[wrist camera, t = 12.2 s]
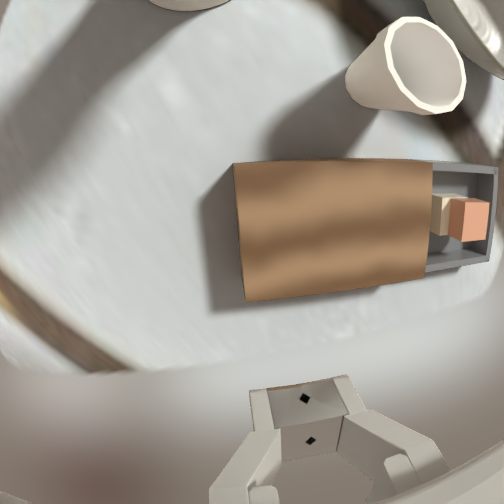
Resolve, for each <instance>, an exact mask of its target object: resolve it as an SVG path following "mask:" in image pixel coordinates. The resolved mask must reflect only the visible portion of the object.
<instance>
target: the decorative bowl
mask: <svg viewBox="0 0 504 504" xmlns="http://www.w3.org/2000/svg"><path fill="white" fill-rule="evenodd" d="M424 2H425V4H426V7H427V10H428V12H429V14H430V16H431V18H432V20H433V21H434V23H435V25H437V26H438V27H439V28H440V29H441V30H442V31H443V32H444V33H445V34H446V35H447V36H448V37H449V38H450V39H451V40H452V41H453V43H454V44H455V46H456V48H457V49H458V50H459V51H461V52H462V53H463V54H464V55H465V56H466V57H467V58H469V59H470V60H471V61H473V62H474V63H475V64H477V65H478V66H479V67H481V68H482V69H484V70H486V71H487V72H489V73H491V74H492V75H494V76H496V77H498V78H500V79H502V80H504V0H424Z"/></svg>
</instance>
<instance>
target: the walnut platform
mask: <svg viewBox="0 0 504 504" xmlns="http://www.w3.org/2000/svg"><path fill="white" fill-rule="evenodd" d="M233 174H234V187H235V199H236V212H237V224H238V236H239V248H240V259H241V271H242V281H243V287H244V294H245V300H246V302H253V301H263V300H272V299H281V298H289V297H298V296H306V295H314V294H322V293H329V292H337V291H344V290H351V289H358V288H365V287H372V286H379V285H385V284H391V283H398V282H404V281H410V280H416V279H422V278H424V277H425V269H426V262H427V253H428V244H429V234H430V222H431V206H432V180H433V163H430V162H423V161H416V160H408V159H381V158H330V159H296V160H276V161H259V162H245V163H233Z"/></svg>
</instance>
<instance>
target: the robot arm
mask: <svg viewBox="0 0 504 504" xmlns="http://www.w3.org/2000/svg"><path fill="white" fill-rule="evenodd" d="M149 1H150V2H152V3H154V4H155V5H158V6H160V7H163V8H166V9H170V10H177V11H194V10H202V9H207V8H211V7H214V6H217V5H220V4H223V3H225V2H227V1H229V0H149ZM249 398H250V406H251V413H252V421H253V429H254V432H249V433H248V435H247V436H246V438H245V439H244V441H243V442H242V444H241V445H240V447H239V448H238V449H237V451H236V452H235V454H234V455H233V457H232V458H231V460H230V461H229V462H228V464H227V465H226V467H225V468H224V470H223V471H222V472H221V474H220V475H219V476H218V478H217V479H216V480H215V482H214V483H213V485H212V486H211V487H210V489H209V504H280V502H279V497H278V492H277V489H276V488H275V487H273V486H271V485H272V483H273V481H274V479H275V477H276V475H277V472H278V471H279V468H280V466H281V464H282V462H287V461H292V460H297V459H302V458H306V457H312V456H318V455H323V454H328V453H333V452H337V454H338V455H340V456H341V457H342V458H343V459H345V460H346V461H347V462H349V463H350V464H351V465H352V466H354V467H355V468H356V469H358V470H359V471H360V472H362V473H363V474H364V475H366V476H367V477H369V478H370V479H371V480H373V481H374V484H373V486H372V488H371V490H370V492H369V494H368V496H367V498H366V502H367V504H504V440H502V441H501V442H499V443H498V444H496V445H494V446H493V447H491V448H490V449H488V450H487V451H485V452H483V453H482V454H480V455H478V456H477V457H475V458H473V459H471V460H470V461H468V462H466V463H465V464H462V465H461V466H459V467H457V468H455V469H453V470H451V469H450V467H449V466H448V464H447V462H446V461H445V459H444V457H443V456H442V454H441V452H440V451H439V449H438V448H437V446H436V445H435V443H434V441H433V440H432V439H430V438H428V437H426V436H424V435H421V434H419V433H417V432H415V431H413V430H411V429H409V428H407V427H405V426H403V425H401V424H399V423H397V422H395V421H393V420H391V419H389V418H387V417H385V416H383V415H381V414H380V413H378V412H376V411H374V410H372V409H369V410H366V408H365V406H364V404H363V402H362V400H361V399H360V397H359V395H358V393H357V391H356V389H355V387H354V385H353V384H352V381H351V380H350V378H349V376H347V375H341V376H337V377H332V378H327V379H322V380H318V381H312V382H307V383H302V384H296V385H289V386H281V387H274V388H266V389H258V390H250V391H249ZM0 504H34V503H31V502H27V501H25V500H22V499H20V498H17V497H14V496H12V495H9V494H7V493H5V492H2V491H0Z"/></svg>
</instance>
